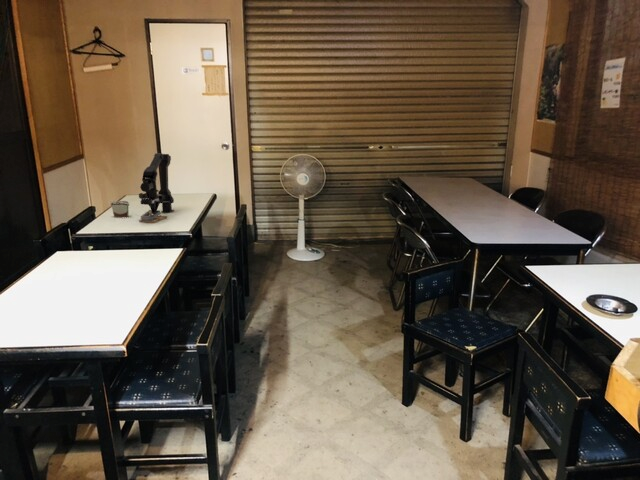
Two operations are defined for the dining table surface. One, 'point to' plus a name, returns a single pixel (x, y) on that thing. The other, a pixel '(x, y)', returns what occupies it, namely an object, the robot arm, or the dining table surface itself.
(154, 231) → the dining table surface
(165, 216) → the keeper board
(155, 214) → the steel link
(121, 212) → the food container
